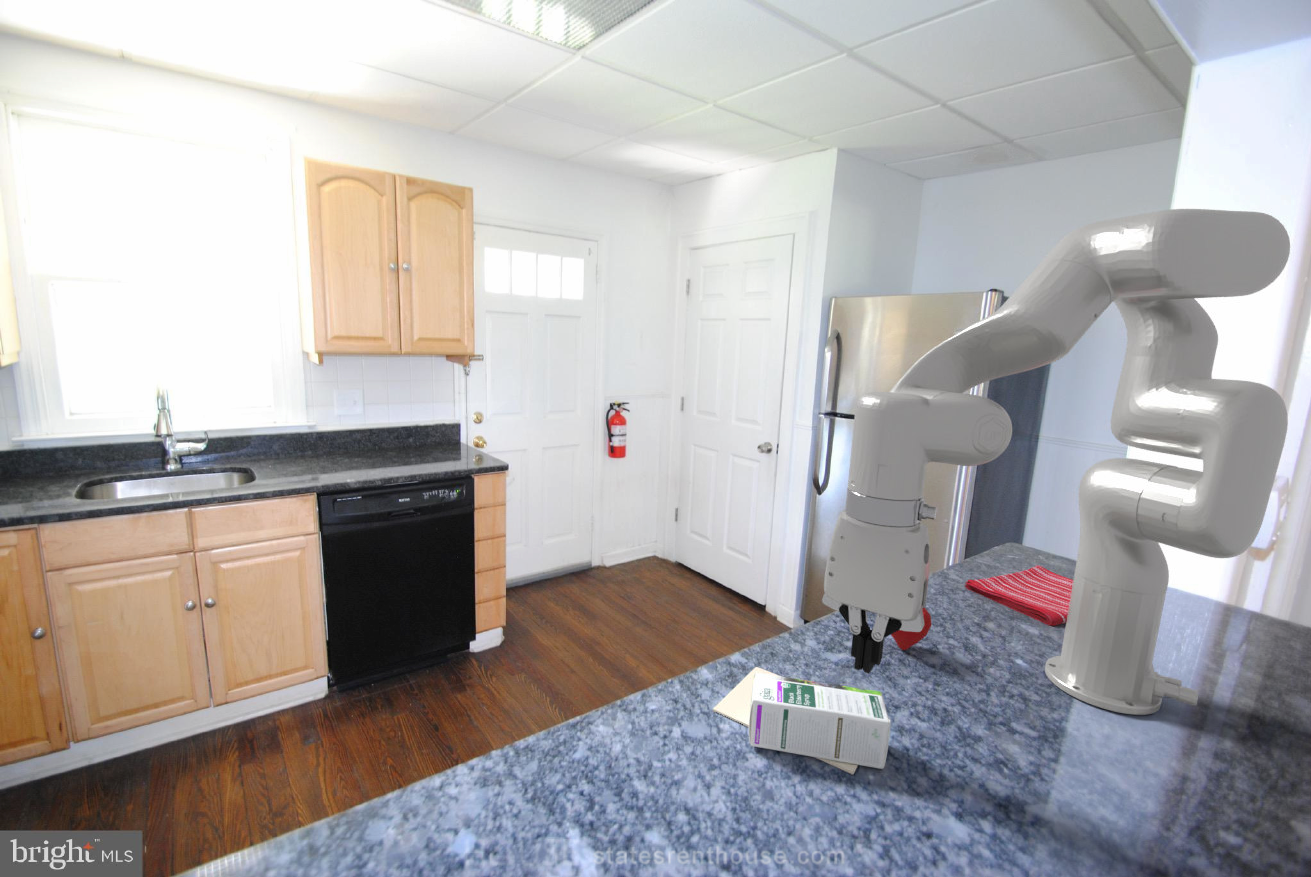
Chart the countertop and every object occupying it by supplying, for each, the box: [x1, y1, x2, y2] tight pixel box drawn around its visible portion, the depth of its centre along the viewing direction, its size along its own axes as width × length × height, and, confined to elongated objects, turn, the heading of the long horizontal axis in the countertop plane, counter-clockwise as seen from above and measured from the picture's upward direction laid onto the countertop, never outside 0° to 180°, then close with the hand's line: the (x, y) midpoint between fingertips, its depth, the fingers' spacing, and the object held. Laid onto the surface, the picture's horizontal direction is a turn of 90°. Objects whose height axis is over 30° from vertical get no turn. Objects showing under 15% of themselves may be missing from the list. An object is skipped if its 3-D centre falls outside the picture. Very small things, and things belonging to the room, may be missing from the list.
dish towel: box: [964, 565, 1074, 627], centre depth 108 cm, size 17×24×3 cm
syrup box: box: [748, 673, 892, 770], centre depth 65 cm, size 6×6×14 cm
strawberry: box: [891, 607, 933, 651], centre depth 86 cm, size 6×8×10 cm
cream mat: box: [712, 666, 859, 775], centre depth 70 cm, size 17×12×1 cm
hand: (865, 665), depth 65 cm, fingers closed
